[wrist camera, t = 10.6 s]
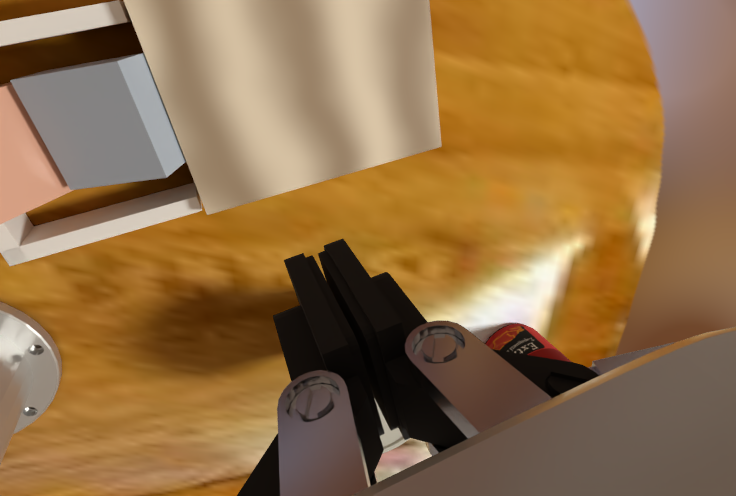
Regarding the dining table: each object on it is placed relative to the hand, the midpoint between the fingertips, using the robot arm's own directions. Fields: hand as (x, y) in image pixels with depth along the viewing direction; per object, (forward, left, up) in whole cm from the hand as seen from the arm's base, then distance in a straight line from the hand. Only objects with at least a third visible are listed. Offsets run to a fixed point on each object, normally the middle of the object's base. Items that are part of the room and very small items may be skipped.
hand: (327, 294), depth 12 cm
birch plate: (+4, +2, -22) cm, 22 cm away
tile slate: (-6, +3, -19) cm, 20 cm away
